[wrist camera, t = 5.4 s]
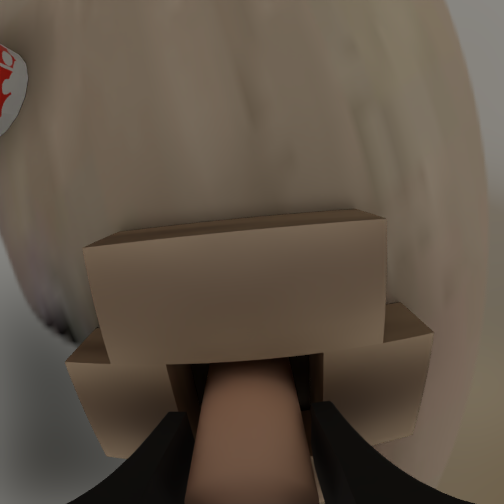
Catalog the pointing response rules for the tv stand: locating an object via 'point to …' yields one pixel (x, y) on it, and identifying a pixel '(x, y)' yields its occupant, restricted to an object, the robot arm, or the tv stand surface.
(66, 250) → the tv stand surface
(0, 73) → the beverage cup
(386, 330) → the socket block
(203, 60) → the tv stand surface
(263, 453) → the peg
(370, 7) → the tv stand surface
